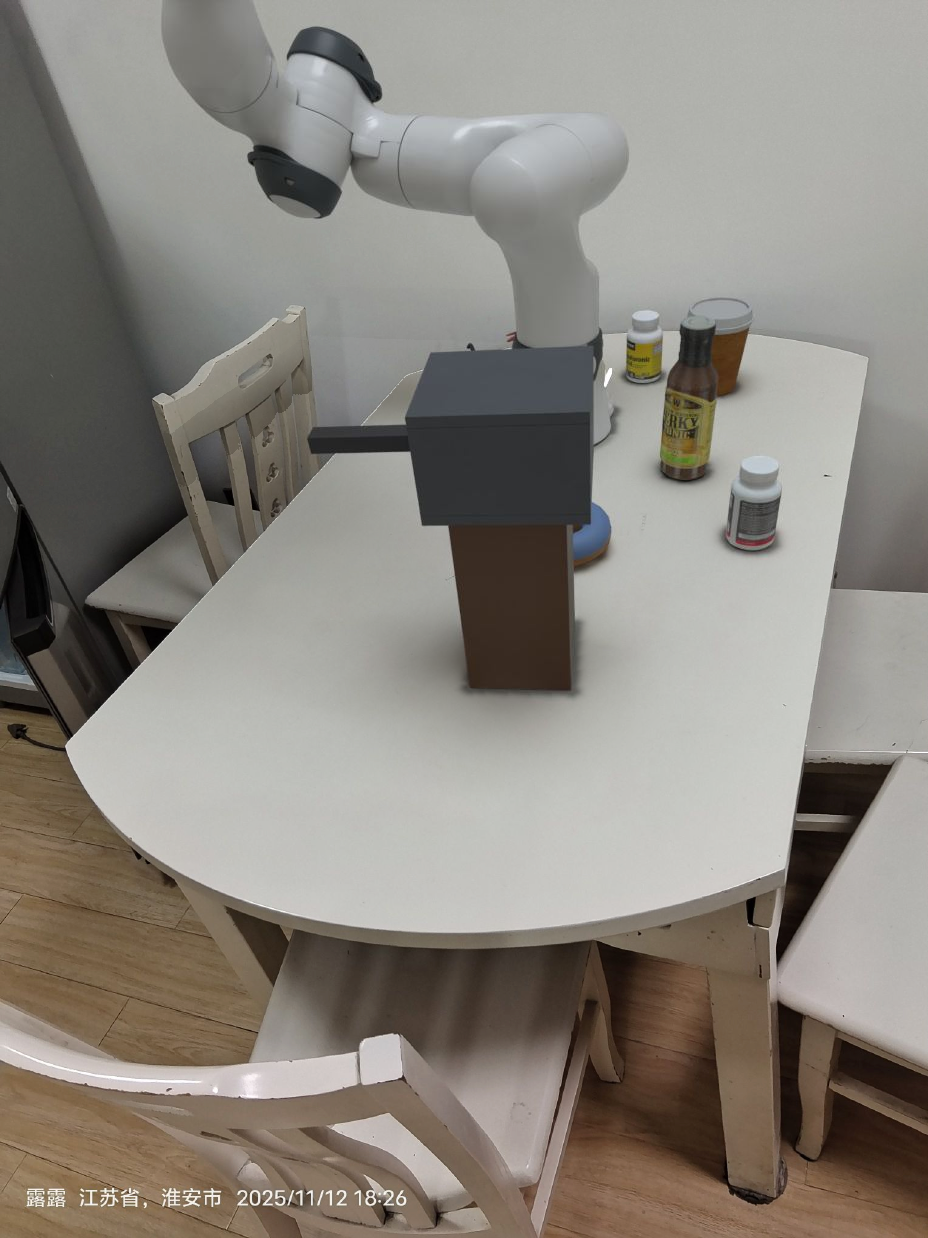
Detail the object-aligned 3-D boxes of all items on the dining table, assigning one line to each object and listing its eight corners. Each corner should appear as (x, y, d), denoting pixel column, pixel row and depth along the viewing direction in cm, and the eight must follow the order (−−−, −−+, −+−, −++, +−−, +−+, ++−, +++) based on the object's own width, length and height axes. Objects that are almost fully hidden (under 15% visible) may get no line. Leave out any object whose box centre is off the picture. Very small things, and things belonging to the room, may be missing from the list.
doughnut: (553, 583, 96) (551, 550, 93) (512, 540, 103) (509, 508, 100) (628, 554, 99) (629, 521, 96) (582, 515, 106) (582, 483, 103)
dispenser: (448, 694, 84) (404, 416, 65) (464, 616, 93) (430, 352, 74) (591, 698, 82) (590, 411, 63) (594, 617, 91) (593, 345, 72)
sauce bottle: (649, 472, 112) (656, 323, 99) (678, 453, 115) (688, 306, 102) (690, 488, 108) (703, 335, 95) (719, 468, 111) (735, 317, 98)
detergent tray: (305, 506, 73) (285, 431, 69) (334, 448, 81) (318, 377, 76) (573, 503, 69) (571, 424, 65) (577, 442, 77) (576, 367, 72)
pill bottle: (784, 539, 98) (796, 464, 92) (751, 557, 96) (761, 482, 90) (747, 520, 102) (757, 446, 96) (715, 537, 100) (723, 463, 94)
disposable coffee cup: (668, 383, 131) (672, 305, 124) (720, 367, 134) (727, 290, 126) (705, 406, 124) (712, 326, 117) (759, 390, 127) (770, 309, 119)
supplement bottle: (618, 379, 134) (619, 317, 128) (638, 366, 137) (640, 305, 131) (648, 387, 131) (650, 324, 125) (667, 373, 134) (671, 311, 128)
